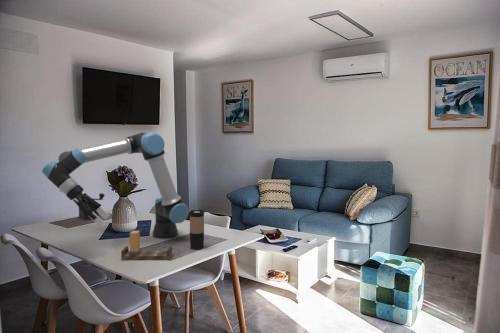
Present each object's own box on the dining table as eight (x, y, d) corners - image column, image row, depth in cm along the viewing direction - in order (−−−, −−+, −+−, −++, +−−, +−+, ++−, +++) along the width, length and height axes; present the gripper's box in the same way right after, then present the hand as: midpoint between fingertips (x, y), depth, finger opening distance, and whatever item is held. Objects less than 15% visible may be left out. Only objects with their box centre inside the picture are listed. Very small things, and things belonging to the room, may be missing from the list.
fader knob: (128, 254, 177) (128, 233, 176) (132, 251, 183) (132, 230, 182) (138, 254, 177) (137, 233, 176) (141, 250, 183) (140, 230, 182)
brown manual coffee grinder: (85, 220, 258) (84, 195, 257) (78, 218, 266) (77, 193, 264) (106, 217, 270) (105, 193, 268) (99, 215, 277) (98, 191, 276)
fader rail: (121, 260, 176) (121, 251, 175) (126, 254, 184) (126, 246, 183) (169, 259, 177) (169, 250, 177) (172, 254, 185) (172, 245, 185)
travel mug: (190, 245, 201) (190, 209, 199) (204, 245, 201) (204, 209, 200) (189, 249, 193) (189, 212, 191) (203, 249, 194) (203, 212, 192)
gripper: (73, 191, 185) (104, 220, 188) (56, 198, 160) (91, 232, 163) (85, 181, 185) (115, 210, 189) (69, 186, 161) (104, 220, 164)
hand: (104, 220), depth 176 cm, fingers open, 13 cm apart
